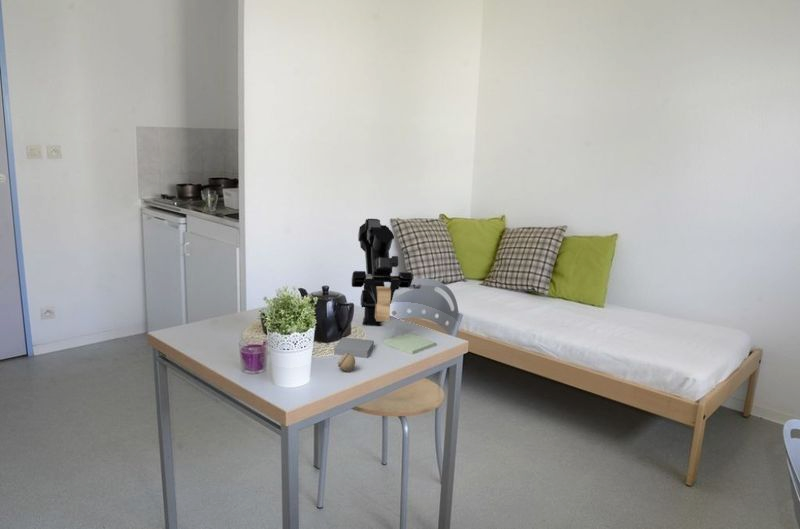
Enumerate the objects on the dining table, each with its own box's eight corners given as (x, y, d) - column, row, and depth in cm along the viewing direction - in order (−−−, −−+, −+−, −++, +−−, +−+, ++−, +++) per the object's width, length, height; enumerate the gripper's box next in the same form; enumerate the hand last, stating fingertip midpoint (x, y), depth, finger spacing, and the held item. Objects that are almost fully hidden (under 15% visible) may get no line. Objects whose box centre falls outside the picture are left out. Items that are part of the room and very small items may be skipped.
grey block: (342, 343, 191) (342, 337, 190) (373, 346, 189) (373, 340, 189) (334, 354, 181) (334, 347, 180) (367, 357, 180) (367, 351, 179)
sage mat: (383, 343, 192) (383, 340, 192) (407, 335, 201) (407, 332, 201) (412, 354, 185) (412, 351, 184) (436, 345, 194) (436, 342, 193)
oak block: (374, 317, 191) (376, 286, 188) (387, 317, 191) (389, 286, 189) (376, 321, 187) (378, 289, 184) (389, 321, 187) (391, 290, 185)
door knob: (350, 366, 173) (351, 349, 172) (357, 372, 168) (358, 355, 167) (334, 368, 170) (334, 351, 169) (341, 375, 166) (342, 357, 165)
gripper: (353, 245, 186) (355, 290, 178) (413, 247, 189) (418, 290, 181) (350, 264, 195) (352, 307, 187) (407, 265, 199) (411, 308, 191)
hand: (383, 303), depth 186 cm, fingers closed on oak block, 4 cm apart
